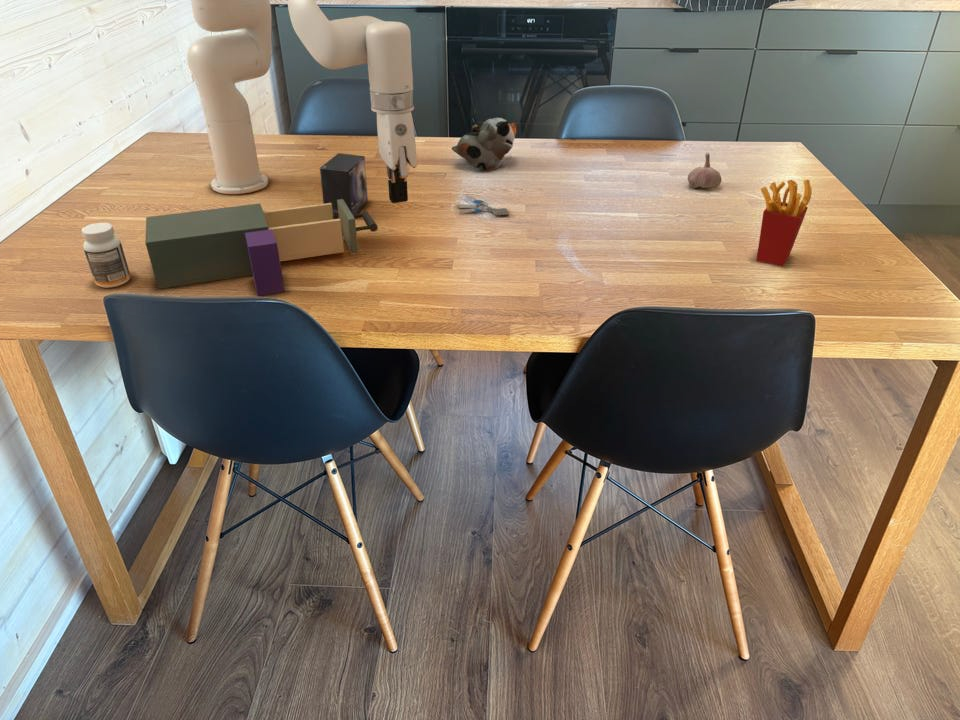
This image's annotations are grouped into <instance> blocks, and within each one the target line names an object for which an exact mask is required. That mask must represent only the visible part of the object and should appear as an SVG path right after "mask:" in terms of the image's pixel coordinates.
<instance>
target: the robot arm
mask: <svg viewBox="0 0 960 720" xmlns="http://www.w3.org/2000/svg"><path fill="white" fill-rule="evenodd" d="M287 8H288V15H289V19H290V23H291V25H292V28H293V30H294V32H295V34H296V35H297V37H298V39H299V40H300V42H301V44H302V45H303V46H304V47H305V49H306V50H307V52H308V53H309V55H311V57H312V58H313V59H314V60H315V61H316V62H317V63H318V64H319V65H320V66H322V67H324V68H326V69H327V70H335V71H336V70H341V69H345V68H351V67H355V66H361V65H366V64H367V73H368V83H369V85H368V86H369V95H370V97H369V98H370V108H371V112H373V113H376V115H375V116H376V130H377V131H376V132H377V133H376V134H377V144H378V152H379V156H380V159H381V160H382V161H383V162H384V163H385V164H386V172H387V178H388V179H387V186H388V187H387V188H388V199H389V201H390V202H391V203H392V204H399V203H405V202H408V201H409V195H408V194H409V193H408V192H409V191H408V177H409V173H408V165H409V166H410V167H411V168H412V169H416V168H417V166H418V157H417V155H418V154H417V144H416V135H415V126H414V119H413V113H412V112H413V111H414V110H415V96H414V95H415V94H414V75H413V56H412V35H411V30H410V27H409V26H408V24H406V23H404V22H401V21H394V20H393V21H391V20H390V21H385V20H382V19H380V18H377V17H375V16H371V15H360V16H352V17H344V18H337V19H331V20H330V19H329V18H327V16H326V15H325V14H324V12H323V11H322V10H321V8H320V7H319V5H318V3H317V2H316V0H287ZM191 9H192V15H193V18H194V20H195V22H196V24H197V26H199V28H201V29H202V30H204V31H206V32H211V33H221V32H228V33H221V34H215V35H207V36H203V37H200V38H198V39H196V40H194V41H193V42H192V43H190V45H189V47H188V49H187V52H186V53H187V54H186V61H187V65H188V67H189V71H190V72H191V75H192V78H193V81H194V83H195V86H196V89H197V92H198V95H199V99H200V103H201V106H202V107H201V108H202V112H203V117H204V121H205V126H206V131H207V136H208V142H209V146H210V147H209V148H210V151H211V155H212V161H213V166H214V171H215V175H216V177H214V178H213V179H212V180H211V182H210V186H211V189H212V190H213V191H214V192H215V193H216V192H217V193H219V194H224V195H242V194H250V193H254V192H258V191H260V190H262V189H264V188H266V187H267V186H268V185H269V178H268V176H267V175H266V174H264V173H261V171H260V165H259V160H258V153H257V148H256V142H255V137H254V136H255V135H254V130H253V124H252V119H251V118H252V117H251V113H250V107H249V104H248V101H247V100H246V98H245V97H244V95H243V93H241V91H239V89H238V88H237V85H236V84H237V83H240V82H246V81H250V80H254V79H258V78H261V77H264V76H265V75H266V74H267V73H268V71H269V70H270V67H271V63H272V5H271V1H270V0H191ZM231 31H235V32H231ZM229 32H230V33H229Z"/></svg>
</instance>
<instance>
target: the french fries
mask: <svg viewBox="0 0 960 720" xmlns="http://www.w3.org/2000/svg"><path fill="white" fill-rule="evenodd" d="M786 183H787V188H786V189H785V191H784V194H783V197H782V198H781V193H780V191H781V190H782V189H783V188H784V186H786ZM803 186H804V193H803V194H801V193H798V183H797V182H796V181H795V180H793V179H789V180H787V181H781V182H780V183H779V185H777V184H776V182H775V181H774V182H770V185H769V189H770V191H771V192H772V197H771V195H770V192H769V190H768V187H767V186H764V187H761V189H760V191H761V193H762V196H763V199H764V202H765V209H764V210H763V212H762V220H761V226H760V233H759V239H758V240H759V241H758V247H757V253H756V254H757V255H756V262H761V263H765V264H769V265H773V266H777V267H781V268H782V267H783V268H784V266H785V265H786V263H787V261H788V260H789V258H790V256H791V254H792V251H793V248H794V245H795V242H796V240H797V238H798V235H799V232H800V230H801V226H802V224H803V222H804V219H805V216H806V214H807V211H808V205H809V203H810V201H811V199H812V186H811V182H810V179H805V180H803ZM788 195H789V196H788ZM802 196H803V197H802ZM801 198H802V199H801ZM787 199H788V200H787ZM787 201H788V202H787Z"/></svg>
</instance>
